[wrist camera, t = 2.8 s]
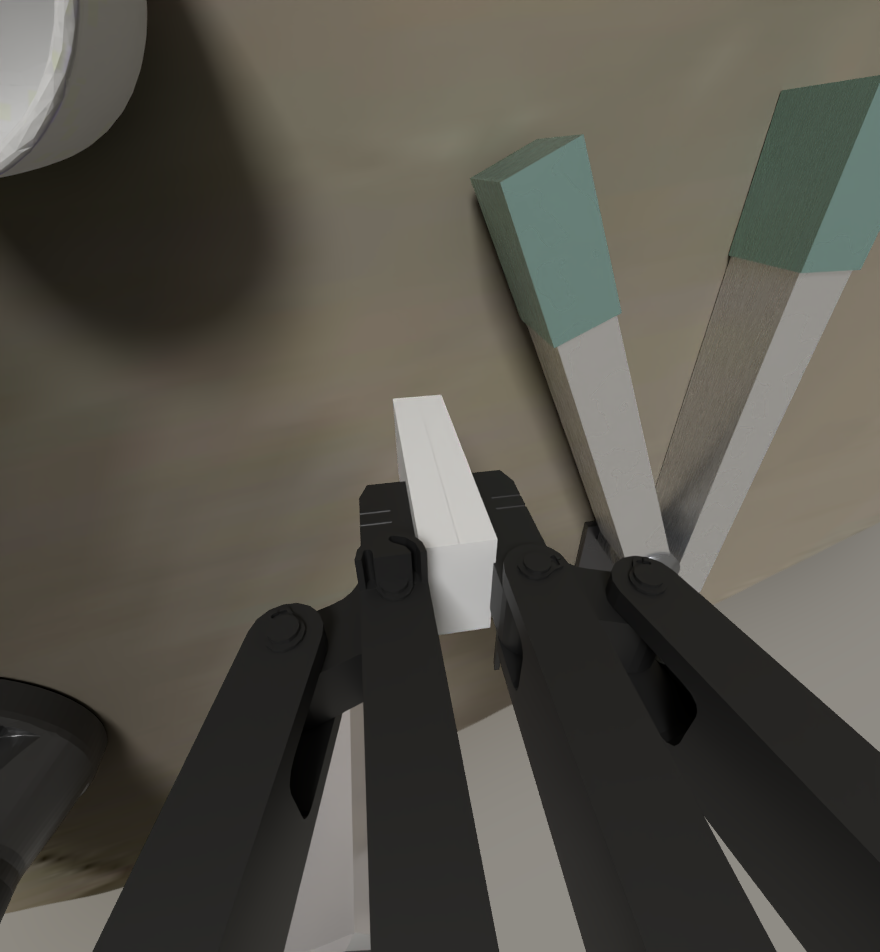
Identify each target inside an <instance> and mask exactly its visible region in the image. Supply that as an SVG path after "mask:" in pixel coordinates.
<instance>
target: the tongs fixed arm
mask: <svg viewBox="0 0 880 952" xmlns="http://www.w3.org/2000/svg"><path fill="white" fill-rule="evenodd" d="M879 230H880V75H878V76H872V77H865V78H859V79H853V80H846V81H840V82H834V83H827V84H821V85H815V86H808V87H802V88H795V89H789V90H783V91H781V93H780V97H779V100H778V103H777V106H776V109H775V112H774V115H773V118H772V121H771V124H770V128H769V131H768V134H767V137H766V140H765V143H764V146H763V149H762V152H761V156H760V159H759V162H758V165H757V168H756V171H755V174H754V177H753V180H752V183H751V187H750V190H749V193H748V196H747V199H746V202H745V205H744V208H743V211H742V215H741V218H740V221H739V224H738V227H737V230H736V233H735V236H734V239H733V243H732V246H731V249H730V252H729V256H731V257H730V260H729V263H728V267H727V270H726V273H725V276H724V279H723V282H722V285H721V288H720V291H719V294H718V297H717V300H716V303H715V307H714V310H713V313H712V316H711V319H710V322H709V325H708V328H707V331H706V334H705V337H704V340H703V343H702V346H701V350H700V353H699V356H698V359H697V362H696V365H695V368H694V371H693V374H692V377H691V380H690V383H689V386H688V390H687V393H686V396H685V399H684V402H683V405H682V408H681V411H680V414H679V417H678V420H677V423H676V426H675V430H674V433H673V436H672V439H671V442H670V445H669V448H668V451H667V454H666V457H665V460H664V463H663V466H662V470H661V473H660V476H659V479H658V482H657V485H656V488H655V489H656V494H657V498H658V503H659V507H660V512H661V516H662V521H663V525H664V530H665V534H666V539H667V543H668V548H669V551H670V552H671V553H672V554H673V556H674V557H675V558H676V559H677V560H678V562H679V563H680V571H679V573H678V575H679V576H680V577H681V578H682V579H684V580H685V581H686V582H687V583H688V584H689V585H690V586H692V587H693V588H694V589H695V590H696V591H697V592H698V593H700V591H701V589H702V587H703V585H704V583H705V581H706V578H707V576H708V574H709V572H710V570H711V568H712V566H713V564H714V562H715V559H716V557H717V555H718V553H719V551H720V549H721V547H722V545H723V543H724V540H725V538H726V536H727V534H728V532H729V530H730V528H731V526H732V524H733V521H734V519H735V517H736V515H737V513H738V511H739V509H740V507H741V504H742V502H743V500H744V498H745V496H746V494H747V492H748V490H749V488H750V485H751V483H752V481H753V479H754V477H755V475H756V473H757V471H758V469H759V466H760V464H761V462H762V460H763V458H764V456H765V454H766V452H767V450H768V447H769V445H770V443H771V441H772V439H773V437H774V435H775V433H776V430H777V428H778V426H779V424H780V422H781V420H782V418H783V416H784V414H785V411H786V409H787V407H788V405H789V403H790V401H791V399H792V397H793V395H794V392H795V390H796V388H797V386H798V384H799V382H800V380H801V378H802V376H803V373H804V371H805V369H806V367H807V365H808V363H809V361H810V359H811V356H812V354H813V352H814V350H815V348H816V346H817V344H818V342H819V340H820V337H821V335H822V333H823V331H824V329H825V327H826V325H827V323H828V321H829V318H830V316H831V314H832V312H833V310H834V308H835V306H836V304H837V302H838V299H839V297H840V295H841V293H842V291H843V289H844V287H845V285H846V282H847V280H848V278H849V276H850V274H851V272H852V270H861V268H862V266H863V263H864V261H865V259H866V257H867V255H868V253H869V251H870V249H871V247H872V245H873V243H874V241H875V239H876V237H877V234H878V232H879ZM599 531H600V530H599V527H598V524H597V521H592V522H585V524H584V528H583V533H582V537H581V542H580V546H579V550H578V555H577V559H576V564H575V566H577V567H581V568H587V569H595V570H603V571H611V570H612V568H613V566H614V565H613V564H612V562H611V561H610V559H609V558H608V556H607V555H606V553H605V552H604V550H603V549H602V547H601V546H600V544H599V543H598V533H599Z"/></svg>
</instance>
